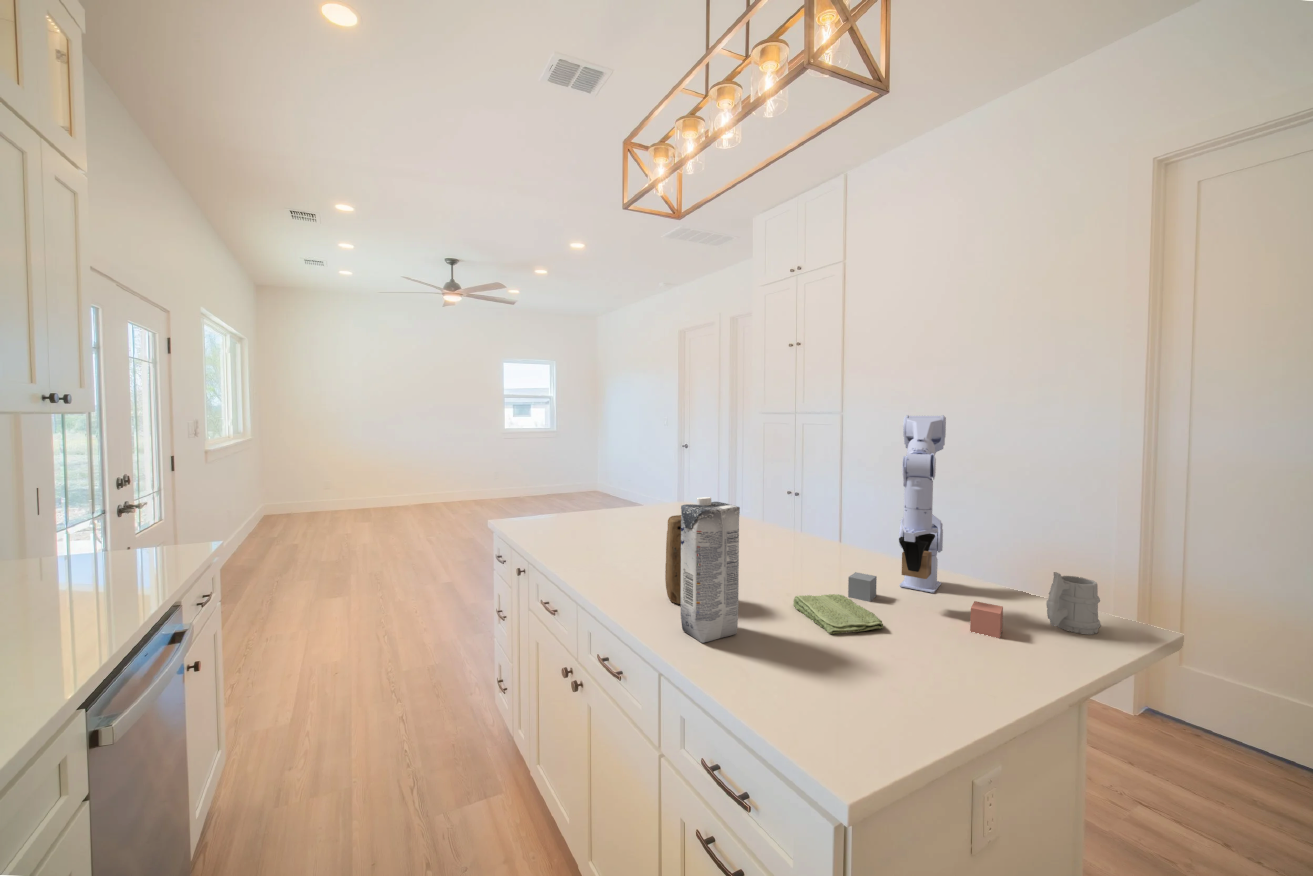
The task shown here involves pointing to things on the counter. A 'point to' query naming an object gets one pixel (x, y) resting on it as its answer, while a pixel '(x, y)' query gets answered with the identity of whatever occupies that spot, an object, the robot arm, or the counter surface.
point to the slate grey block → (862, 586)
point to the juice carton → (709, 569)
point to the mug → (1073, 604)
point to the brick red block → (986, 619)
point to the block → (673, 559)
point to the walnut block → (924, 568)
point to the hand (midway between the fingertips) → (916, 567)
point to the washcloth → (837, 613)
